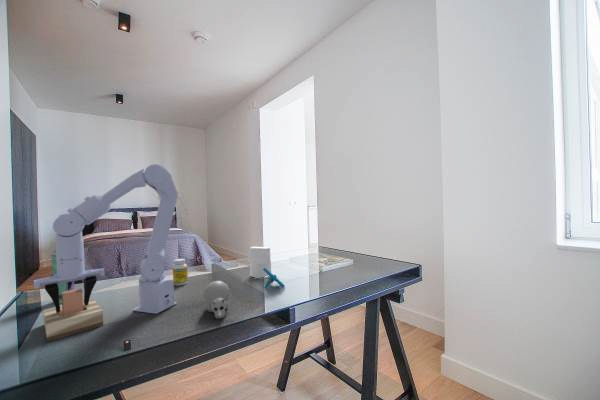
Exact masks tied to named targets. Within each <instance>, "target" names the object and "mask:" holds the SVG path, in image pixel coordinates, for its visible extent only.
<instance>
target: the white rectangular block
mask: <svg viewBox="0 0 600 400" xmlns="http://www.w3.org/2000/svg"><path fill="white" fill-rule="evenodd" d="M264 268H266V269H267V270H268V271H269V272H270V273H272V260H271V247H270V246H269V247H268V246H250V247H249V277H250V276H252V277H265V276H268V274H267V273H266V272H265V271H264V270H263V269H264Z"/></svg>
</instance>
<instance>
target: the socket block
mask: <svg viewBox="0 0 600 400" xmlns="http://www.w3.org/2000/svg"><path fill="white" fill-rule="evenodd" d="M42 311H43V326H44V332H45V338H46V342H51V341H54V340H58V339H61V338H65V337H68V336H71V335H74V334H78V333H81V332H85V331H88V330H92V329H95V328H98V327H101V326H104V311H103V309H102V307H101V306H100V305H99V304H98V302H97V301H96V300H95V299H94V298H89V304H88V305H87V306H85V305H84V300H83V311H80V312H76V313H72V314H68V315H64V316H62V305H60V312H58V313H56V308H55V307H51V308H47V309H43V310H42Z"/></svg>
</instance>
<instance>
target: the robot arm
mask: <svg viewBox="0 0 600 400" xmlns="http://www.w3.org/2000/svg"><path fill="white" fill-rule="evenodd" d="M147 185H148V186H149V187H150V188H152V189H153V190H155V191H154V192H156V193H157V194H158V196H159V197H160V200H159V204H158V208H157V210H156V211H157V212H156V215H155V219H154V222H153V223H154V224H153V226H152V227H153V228H152V231H151V235H150V239H149V244H148V247H147V250H146V252H145V255H144V257H143V258H142V259H141V261H140V262H139V269H140V276H141V277H139V278H138V290H139V291H138V293H139V306H137V307H135V308H133V309H132V311H133V312H134V311H135V312H141V313H148V314H154V315H157V314H159V313H160V312H163V311H165V310H167V309H170V307H171V308H172V306H175V305H176V304H177V301H175V285H174V283H173V281H172V280H171V279H168V278H167V277H166V274H165V270H166V269H165V264H164V258H165V252H166V251H165V250H166V247H167V246H166V245H167V241H168V238H169V234H170V229H171V226H172V221H173V218H174V217H173V216H174V213H175V209H176V205H177V201H178V196H179V194H178V191H177V188H176V186H175V182H174V181H173V178H172V174H171V173H170V172H169V171H168V170H167V168H165V166H164V165H161V164H157V163H154V164H150V165H148V166H147V167H146V168H145V169H144V168H143V169H141V170H139V171H137V172H134V173H133V174H132V175H130V176H128V177H127V178H125V179H123V181H121V182H120V183H118V184H117V185H115V186H114V187H113V188H112V189H110V190H108V191H107V192H105V193H104V194H103V195H96V194H94V195H92V196H86V197H85V198H84V199H83V200H84V201H83V202H82V203H80V204H78V205H76V206H75V207H73V208H68V209H67V212H68V213H63V214H61V215H58V217H56V219H55V220H54V221H53V225H52V228H53V231H54V232H55V234H56V236H55V239H56V242H55V249H56V260H57V275H56V276H47V277H42V278H38V279H34V280H33V289H34V290H36V289H41V288H43V287H44V289H45V291H46V293H47V294H48V295H49V296H50V299H51V300H52V302H53V304H54V308H56V313H58V312H60V306H61V305H60V304H61V303H60V304H59V288H58V284H60V283H66V282H71V281H74V282H76V281H82V280H83V301H84V305H85V306H87V305H88V304H89V299H91V298H90V297H91V294H92V291H93V290H94V288H95V285H96V283H97V281H98V278H97V277H105V276H106V274H105V268H104V267H101V268H97V269H96V268H94V269H88V270H87V269H86V267H85V249H84V248H85V247H84V245H85V244H84V242H85V241H84V238H83V230H84V228H85V226H86V225H87V226H89V225H91V224H92V223H93V222H95V221H97V220H98V219H100V218H101V217H102V216H105V215H106V214H107V213H109V212H110V211H111V204H113V203H114V202H115V201H118V200H119V199H121V198H122V197H124V196H125V195H127V194H128V193H130V192H131V191H134V190H135V189H137V188H139V189H140V188H145V187H146V186H147ZM85 269H86V270H85ZM63 280H64V281H63Z"/></svg>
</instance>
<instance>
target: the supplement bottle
mask: <svg viewBox="0 0 600 400" xmlns="http://www.w3.org/2000/svg"><path fill="white" fill-rule="evenodd" d="M173 263H174V265H173V266H172V277H173V279H172V280H173V281H172V282H173V285H174V286H183V285H186V284H188V282H189V273H188V265H187V264H186V259H185V258H177V259H174V260H173Z"/></svg>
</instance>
